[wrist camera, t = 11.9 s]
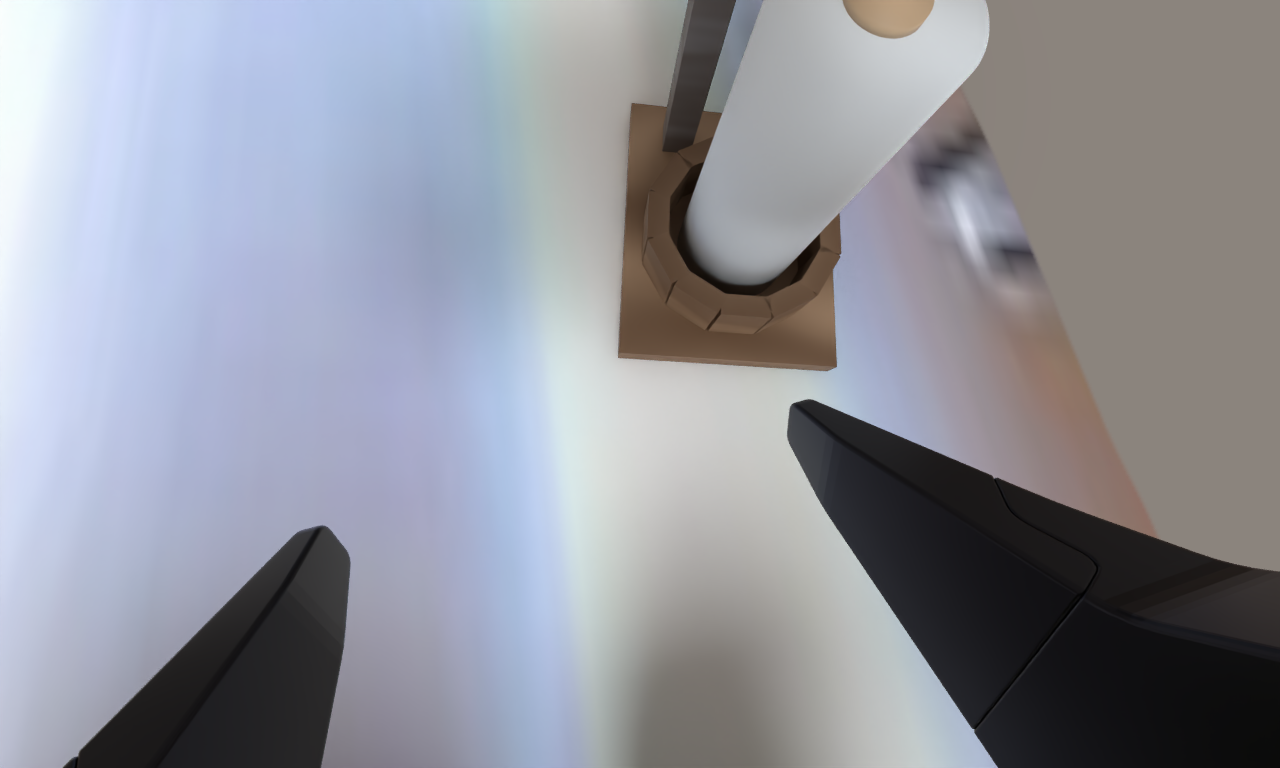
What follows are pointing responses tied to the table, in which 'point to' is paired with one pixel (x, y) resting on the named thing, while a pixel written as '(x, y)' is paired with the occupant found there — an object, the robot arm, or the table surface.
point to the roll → (818, 124)
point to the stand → (655, 209)
